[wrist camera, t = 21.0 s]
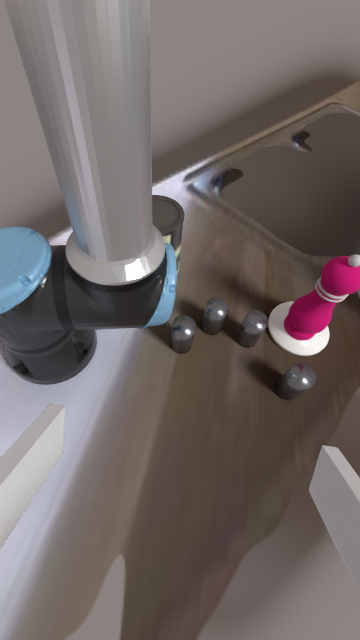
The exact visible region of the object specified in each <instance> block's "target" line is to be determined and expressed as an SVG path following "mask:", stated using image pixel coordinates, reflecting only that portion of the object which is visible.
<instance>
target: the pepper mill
mask: <svg viewBox="0 0 360 640" xmlns="http://www.w3.org/2000/svg"><path fill="white" fill-rule="evenodd" d="M359 288H360V255H352V256H351V257H347V256H340V257H336V258H333V259H331V260H330V261H329V262H327V263H326V265H325V266H324V267H323V269H322V272H321V277H320V278H319V280H318V281H317V282H316V285H315V289H314V290H313V291H312V292H311V293H310V294H308V295H305V296H302V297H300V298H299V299H297V300H296V301H295V302H294V303H293V304H292V305H291V306H290V309H289V314H288V315H287V316H286V318H285V320H284V328H285V330H286V332H287V333H288V334H289V335H290V336H291V337H292V338H294V339H296V340H300V341H306V340H309V339H311V338H312V337H313V336H314V335H315V334H316V333H320V332H321V331H323V330H324V329H325V328H326V327H327V326H328V324H329V322H330V320H331V317H332V310H333V308H334V306H335V304H336V303H337V302H341V301H343V300H344V299H345V298H346V297H347V296H348V295H349V294H351V293H354V292H356V291H357V290H358V289H359Z"/></svg>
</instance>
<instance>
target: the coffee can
mask: <svg viewBox="0 0 360 640" xmlns="http://www.w3.org/2000/svg"><path fill="white" fill-rule="evenodd" d="M183 221H184V210H183V208H182V207H181V205H180V204H179V203H178V202H176V201H175V200H173V199H171V198H169V197H165V196H160V195H152V224H153V225H154V226H155V227H156V228H157V229H158V230H159V231H160V232H161V234H162V236H163V239H164V241H165V243H169V244H170V245H172V247H173V249H174V252H175V257H176V266H177V272H178V270H179V259H180V248H181V237H182V227H183Z"/></svg>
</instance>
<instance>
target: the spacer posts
mask: <svg viewBox="0 0 360 640" xmlns="http://www.w3.org/2000/svg"><path fill="white" fill-rule="evenodd" d="M228 309H229V306H228V304H227V302H226V301H225V300H224V299H222V298H219V297H214V298H211V299H209V300H208V301H207V304H206V308H205V311H204V315H203V319H202V323H201V328H202V330H203V331H204V332H205V333H206V334H208V335H215V334H218V333H219V332H220V330H221V327H222V325H223V322H224V320H225V317H226V315H227V312H228ZM267 326H268V318H267V316H266V315H265V314H264V313H262V312H261V311H257V310H253V311H250V312H248V313H247V315H246V317H245V319H244V321H243V323H242V325H241V327H240V329H239V331H238V333H237V335H236V339H237V342H238V343H239V344H240V345H241V346H243V347H246V348H250V347H253V346H254V345H255V344H256V342H257V341H258V339H259V338H260V336H261V335H262V333H263V332H264V330H265V329H266V327H267ZM195 329H196V323H195V321H194V320H193V319H192V318H191V317H189V316H179V317H177V318H176V319H175V320H174V321H173V324H172V334H171V348H172V349H173V351H175V352H176V353H179V354H184V353H187V352H188V351H189V350H190V349H191V346H192V342H193V338H194V334H195ZM315 380H316V377H315V374H314V372H313V370H312V369H311V368H310V367H309V366H307V365H305V364H295V365H294V366H293V367H292V368H290V369H289V370H288V371H287V372H286V373H285V374H284V375H283V376H282V377H281V378H280V379H279V380H278V381H277V382H276V384H275V391H276V393H277V394H278V396H279V397H281V398H282V399H284V400H292V399H294V398H295V397H297V396H298V395H300V394H301V393H303V392H304V391H305V390H307V389H308V388H310V387H311V386H312V385H313V384H314V383H315Z"/></svg>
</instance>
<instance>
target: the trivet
mask: <svg viewBox="0 0 360 640" xmlns="http://www.w3.org/2000/svg"><path fill="white" fill-rule="evenodd" d="M293 303H294V302H285V303H282V304H279V305H278V306H276V307H275V308H274V309H273V310H272V312H271V314H270V315H269V318H268V331H269V334H270V336H271V338H272V339H273V341H274V342H275V343H276V344H277V345H278V346H279V347H280V348H281V349H283V350H284V351H286V352H288V353H290V354H293V355H296V356H303V357H305V356H312V355H315V354H317V353H319V352H320V351H321V350H322V349H323V348H324V347H325V346H326V345H327V343H328V340H329V329H328V326H327V327H326V328H325V329H324V330H323V331H321V332H320V333H316V334H315V335H314V336H313V337H312V338H311V339H309V340H306V341H300V340H296V339H294V338H292V337H291V336H290V335H289V334H288V333H287V332H286V330H285V328H284V320H285V318H286V316H287V315H288V314H289V309H290V306H291V305H292V304H293Z"/></svg>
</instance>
